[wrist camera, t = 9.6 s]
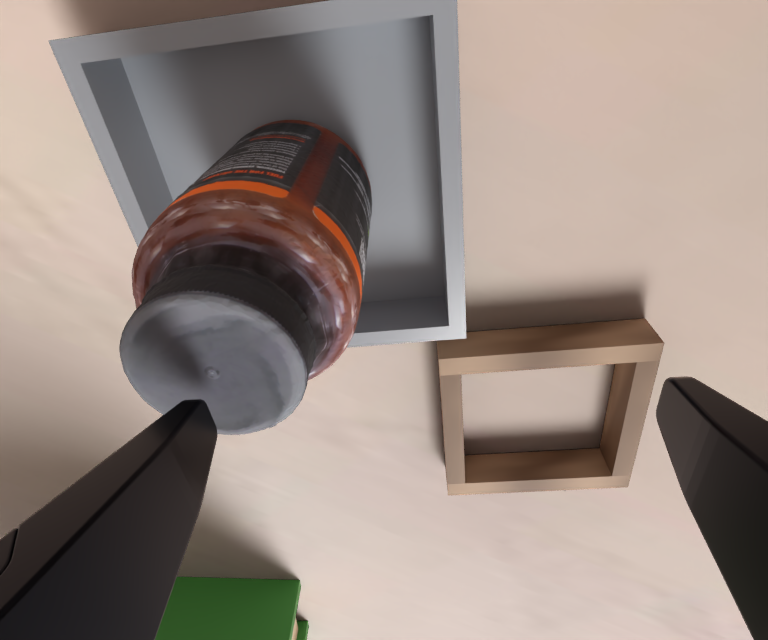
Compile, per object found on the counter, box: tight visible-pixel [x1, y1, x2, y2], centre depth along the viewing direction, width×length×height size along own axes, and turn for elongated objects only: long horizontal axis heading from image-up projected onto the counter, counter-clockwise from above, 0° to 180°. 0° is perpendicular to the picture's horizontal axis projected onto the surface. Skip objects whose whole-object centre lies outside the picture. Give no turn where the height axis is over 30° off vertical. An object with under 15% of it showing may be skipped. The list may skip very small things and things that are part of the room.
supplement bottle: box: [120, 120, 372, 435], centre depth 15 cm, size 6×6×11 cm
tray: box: [49, 0, 466, 348], centre depth 19 cm, size 12×12×3 cm
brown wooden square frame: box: [437, 318, 664, 495], centre depth 25 cm, size 10×10×2 cm
